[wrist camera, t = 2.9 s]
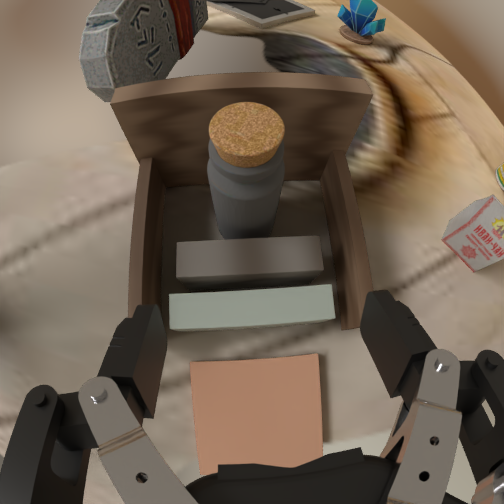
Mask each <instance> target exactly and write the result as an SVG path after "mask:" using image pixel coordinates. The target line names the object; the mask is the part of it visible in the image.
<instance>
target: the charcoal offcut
mask: <svg viewBox="0 0 504 504" xmlns="http://www.w3.org/2000/svg"><path fill="white" fill-rule="evenodd" d="M323 270H324V267H323V259H322V251H321V244H320V237H319V236H295V237H271V238H249V239H228V240H208V241H189V242H177V255H176V278H177V279H178V280H179V281H180V282H181V283H182V284H183V285H184V286H185V287H186V288H187V289H188V290H189V291H195V290H220V289H242V288H261V287H278V286H294V285H309V284H310V283H311V282H312V281H313V280H314V279H315V278H316V277H317V276H318V275H319V274H320V273H321V272H322V271H323Z"/></svg>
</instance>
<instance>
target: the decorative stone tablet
mask: <svg viewBox="0 0 504 504" xmlns="http://www.w3.org/2000/svg"><path fill="white" fill-rule="evenodd" d="M207 20H208V11H207V0H100V1H99V3H98V4H97V5H96V6H95V8H94V9H93V10H92V11H91V13H90V14H89V16H88V17H87V22H86V27H85V29H84V31H83V33H82V39H81V46H80V54H79V60H80V64H81V67H82V71H83V75H84V78H85V81H86V85H87V88H88V89H89V90H90V91H92V92H93V93H94V94H95V95H97V96H98V97H99V98H100V99H102V100H103V101H104V102H111V100H112V97H113V94H114V91H115V89H116V88H119V87H124V86H129V85H134V84H139V83H145V82H151V81H157V80H164V79H166V77H167V76H168V74H169V72H170V71H171V70H172V68H173V66H174V65H175V64H176V62H177V61H178V60H179V59H182V58H183V57H184V56H185V55H186V54H187V52H188V51H189V50H190V48H191V47H192V45H193V44H194V39H193V38H194V37H195V35H196V34H197V33H198V31H199V30H200V29H201V28H202V26H203V25H204V24H205V23H206V21H207Z"/></svg>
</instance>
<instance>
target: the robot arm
mask: <svg viewBox="0 0 504 504" xmlns="http://www.w3.org/2000/svg"><path fill="white" fill-rule="evenodd" d="M360 331H361V335H362V338H363V340H364V342H365V344H366V346H367V348H368V350H369V352H370V354H371V356H372V359H373V361H374V363H375V365H376V367H377V369H378V371H379V373H380V376H381V378H382V380H383V382H384V384H385V386H386V389H387V391H388V393H389V395H390V398H393V397H396V396H400V395H401V396H402V398H403V401H402V403H401V405H400V408H399V411H398V414H397V417H396V420H395V423H394V426H393V428H392V431H391V434H390V437H389V439H388V442H387V444H386V446H385V448H384V449H383V451H382V453H381V455H380V457H378V456H372V455H363V453H362V450H361V447H359V448H355V449H350V450H346V451H342V452H337V453H331V454H327V455H325V456H322V457H320V458H317V459H315V460H312V461H310V462H307V463H305V464H302V465H300V466H297V467H292V468H289V467H279V466H271V465H263V464H256V463H249V464H218V472H217V473H212V474H209V475H206V476H203V477H201V478H199V479H197V480H195V481H194V482H192V483H190V484H188V485H187V486H186V487H185V486H184V485H183V484H182V483H181V481H180V480H179V479H178V478H177V476H176V475H175V474H174V472H173V471H172V470H171V468H170V467H169V466H168V464H167V463H166V462H165V460H164V459H163V458H162V456H161V455H160V453H159V452H158V451H157V449H156V448H155V446H154V445H153V443H152V442H151V440H150V439H149V437H148V436H147V434H146V433H145V431H144V430H143V428H142V423H143V418H152V419H154V413H155V407H156V402H157V396H158V391H159V386H160V380H161V375H162V370H163V365H164V361H165V356H166V351H167V337H166V332H165V329H164V325H163V321H162V318H161V314H160V310H159V307H158V305H157V304H152V305H137V307H136V309H135V312H134V314H133V317H132V318H125V319H124V320H123V321H122V322H121V323H120V324H119V325H118V326H117V328H116V330H115V333H114V335H113V339H112V340H111V342H110V347H108V350H107V352H106V355H105V357H104V360H103V362H102V365H101V368H100V370H99V373H98V375H97V377H95V378H92V379H90V380H88V381H87V382H85V383H84V384H83V385H82V387H81V388H80V391H79V392H74V393H67V394H60V395H58V394H57V392H56V391H55V390H54V389H53V388H52V387H51V386H48V385H40V386H37V387H35V388H33V389H32V390H31V391H30V392H29V393H28V394H27V396H26V398H25V400H24V403H23V405H22V408H21V410H20V413H19V416H18V418H17V421H16V424H15V427H14V429H13V432H12V435H11V438H10V441H9V444H8V448H7V451H6V454H5V457H4V461H3V464H2V468H1V472H0V504H83V496H84V489H85V482H86V475H87V469H88V463H89V457H90V452H91V449H92V448H99V450H98V451H97V452H98V455H99V458H100V460H101V462H102V464H103V466H104V467H105V469H106V471H107V473H108V475H109V477H110V479H111V480H112V482H113V484H114V486H115V488H116V489H117V491H118V493H119V494H120V496H121V498H122V499H123V501H124V503H125V504H468V503H466V502H464V501H462V500H460V499H458V498H456V497H454V496H452V495H450V494H448V493H447V492H446V488H447V485H448V481H449V478H450V474H451V470H452V466H453V462H454V457H455V453H456V448H457V443H458V438H459V439H460V441H461V443H462V446H463V448H464V451H465V453H466V456H467V459H468V461H469V464H470V467H471V469H472V472H473V475H474V478H475V481H476V483H477V487H476V490H475V494H474V495H473V497H472V499H471V503H472V504H504V359H503V358H502V357H501V356H500V355H499V354H498V353H496V352H494V351H491V350H483V351H481V352H480V353H479V354H478V356H477V358H476V359H475V361H459V360H458V359H457V357H456V356H455V355H454V354H453V353H451V352H449V351H447V350H444V349H437V347H436V346H435V344H434V343H433V341H432V340H431V338H430V337H429V336H428V334H427V333H426V331H425V330H424V328H423V327H422V326H421V325H420V323H419V321H418V320H417V319H416V318H415V316H414V314H413V313H412V312H411V310H410V309H409V308H408V307H407V306H406V305H404V304H403V303H401V302H400V301H395V299H394V298H393V297H392V295H391V294H390V293H389V291H388V290H379V291H370V292H368V293H367V296H366V300H365V304H364V309H363V313H362V317H361V322H360ZM485 399H486V401H487V402H488V404H489V406H490V408H491V410H492V412H493V414H494V416H495V426H494V427H493V426H492V424H491V422H490V420H489V418H488V416H487V414H486V412H485V410H484V408H483V406H482V403H483V402H484V400H485Z"/></svg>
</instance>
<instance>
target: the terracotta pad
mask: <svg viewBox="0 0 504 504" xmlns="http://www.w3.org/2000/svg"><path fill="white" fill-rule="evenodd" d="M190 372H191V387H192V400H193V412H194V423H195V433H196V442H197V451H198V460H199V468H200V475H209V474H212V473H217V472H218V464H249V463H256V464H263V465H271V466H279V467H289V468H292V467H297V466H300V465H302V464H305V463H307V462H310V461H312V460H315V459H317V458H320V457H322V456H323V439H322V411H321V391H320V375H319V360H318V354H317V353H315V354H306V355H297V356H286V357H275V358H262V359H247V360H226V361H191V362H190Z"/></svg>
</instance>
